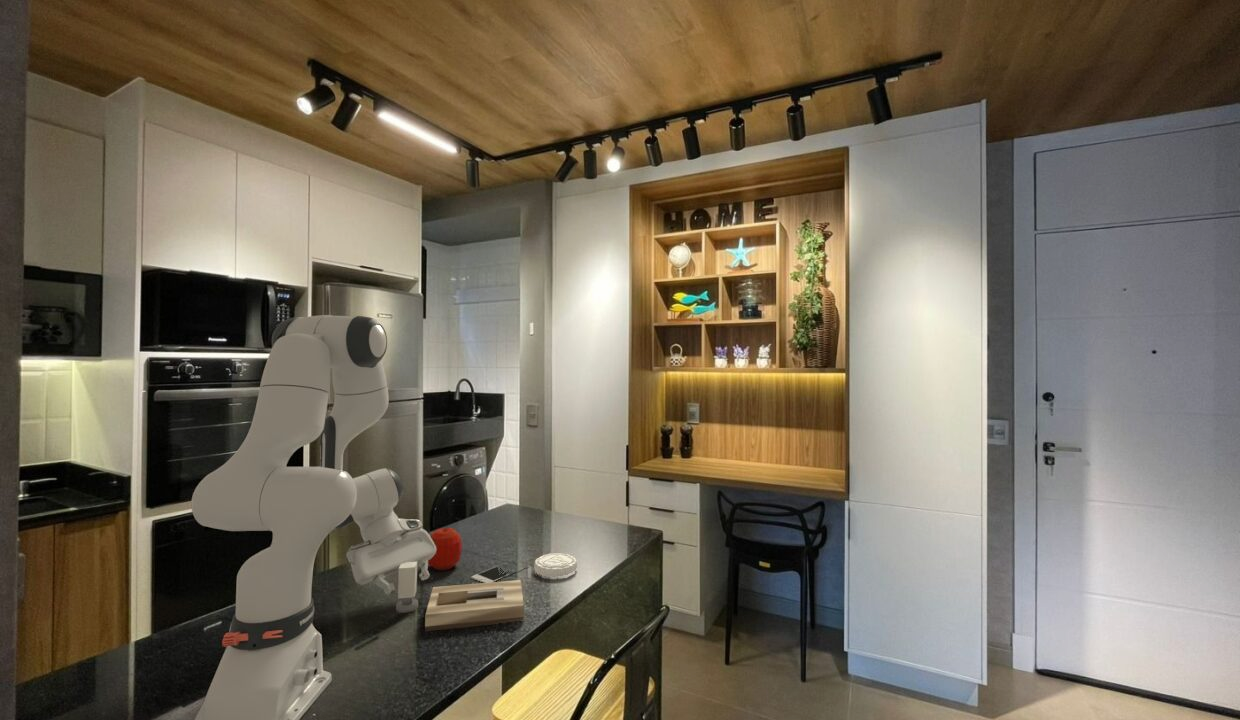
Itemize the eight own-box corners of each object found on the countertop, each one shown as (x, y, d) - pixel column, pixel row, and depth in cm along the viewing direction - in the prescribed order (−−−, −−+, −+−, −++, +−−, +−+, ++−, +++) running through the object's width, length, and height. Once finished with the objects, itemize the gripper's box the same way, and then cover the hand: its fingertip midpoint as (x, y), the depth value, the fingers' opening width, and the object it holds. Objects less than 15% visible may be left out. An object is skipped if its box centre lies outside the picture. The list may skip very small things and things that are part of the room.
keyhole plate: (523, 621, 114) (523, 605, 114) (424, 631, 109) (425, 614, 109) (520, 594, 128) (520, 579, 128) (432, 602, 123) (433, 587, 123)
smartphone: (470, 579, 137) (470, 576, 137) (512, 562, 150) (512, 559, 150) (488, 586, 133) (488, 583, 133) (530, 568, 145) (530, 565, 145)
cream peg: (416, 611, 118) (417, 568, 118) (394, 613, 116) (395, 569, 117) (419, 602, 122) (420, 560, 122) (398, 604, 121) (399, 561, 121)
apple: (443, 558, 151) (444, 519, 151) (469, 564, 146) (470, 524, 147) (416, 570, 142) (417, 528, 142) (443, 577, 137) (444, 534, 138)
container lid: (558, 584, 135) (558, 570, 135) (525, 574, 141) (525, 561, 141) (585, 569, 145) (585, 557, 145) (553, 560, 151) (553, 548, 151)
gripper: (349, 540, 114) (374, 594, 109) (425, 518, 132) (450, 564, 127) (337, 556, 117) (361, 609, 111) (414, 532, 134) (437, 578, 129)
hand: (409, 585), depth 119 cm, fingers open, 8 cm apart
